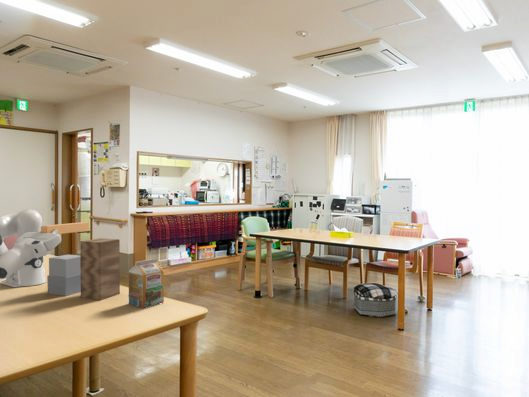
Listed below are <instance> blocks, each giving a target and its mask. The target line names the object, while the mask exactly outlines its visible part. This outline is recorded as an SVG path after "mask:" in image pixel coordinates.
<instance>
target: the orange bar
mask: <svg viewBox="0 0 529 397" xmlns="http://www.w3.org/2000/svg"><path fill="white" fill-rule="evenodd" d="M89 226H90V223H89V222H86V221H81V222H71V223H61V224H60V223H59V224H49V225H46V224H45V225H42V226H41V233H52V230H54V229H57V230H58V233H57V234H59V235H61V234H72V233H79V232H81V233H82V232H88V231H90V230H89V229H90V227H89Z"/></svg>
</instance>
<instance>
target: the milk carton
mask: <svg viewBox="0 0 529 397" xmlns="http://www.w3.org/2000/svg"><path fill="white" fill-rule="evenodd" d="M164 273H165V271H164V269H163V268H162V266H161V265H160V264H159V262H158V259H157V258H153V259H145V260H139V261H135V265H134V266H132V267H131V268H130V269H129V270H128V304H129V305H131V306H134V307H137V308H140V309H147V308H150V307H149V306H151V307H153V305H155V306H157V305H156V304H158V305H160V304H159V303H162V304H164V303H163V302H164V301H165V297H164V295H165V287H164V286H165V284H164V283H165V278H164V277H165V276H164ZM146 307H147V308H146Z"/></svg>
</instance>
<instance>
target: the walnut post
mask: <svg viewBox="0 0 529 397" xmlns="http://www.w3.org/2000/svg"><path fill="white" fill-rule="evenodd" d="M79 246H80V248H79V249H80V250H79V252H80V254H79V255H80V267H81V292H80V298H83V299H89V300H97V301H103V300H106V299H109V298H112V297H115V296H117V294H118V295H120V294H121V286H120V283H121V281H120V280H121V272H120V271H121V270H120V269H121V268H120V265H121V264H120V263H121V262H120V260H121V259H120V255H121V254H120V250H121V248H120V247H121V246H120V239H116V238H115V239H114V238H104V237H103V238H100V237H98V238H93V239H85V240H80V244H79Z"/></svg>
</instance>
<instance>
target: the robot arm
mask: <svg viewBox="0 0 529 397" xmlns="http://www.w3.org/2000/svg"><path fill="white" fill-rule="evenodd" d="M41 226H43V218H42V215H41V214H40V212H38V210H35V209H33V208H32V209H31V208H28V209H23V210H20V211H16V212H12V213H8V214H5V215H2V216H0V280H1V281H0V284H1V285H5V286H8V287H12V288H18V287H31V286H38V285H42V284H45V283H46V282H47V277H46V271H45V265H44V264H43V263H44V257H46V256H47V255H48V254H49V252H50V251H53V249H55V248H56V247H57V246H58V245H60V244H61V243H62V238H61V235H60V234H57V233H58V230H57V229H54V230H52V233H41ZM15 235H17V239H16V240H15V241H16V242H15V243H13V247H12V248H11V249H9V248H8V247H7V245H6V244H5V242H4V240H3V239H7V238H9V237H12V236H15ZM4 279H5V280H4Z"/></svg>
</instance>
